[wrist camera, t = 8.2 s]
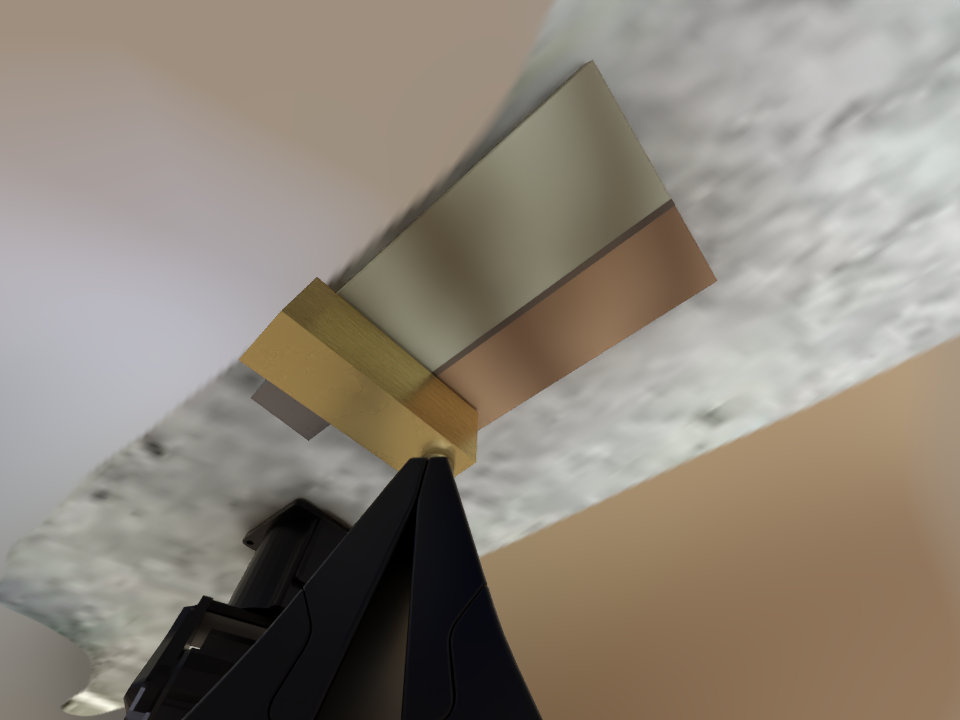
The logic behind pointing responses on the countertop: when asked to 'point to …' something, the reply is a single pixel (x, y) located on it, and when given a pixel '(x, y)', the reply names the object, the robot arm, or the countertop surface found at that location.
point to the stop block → (289, 410)
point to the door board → (535, 256)
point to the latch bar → (362, 382)
